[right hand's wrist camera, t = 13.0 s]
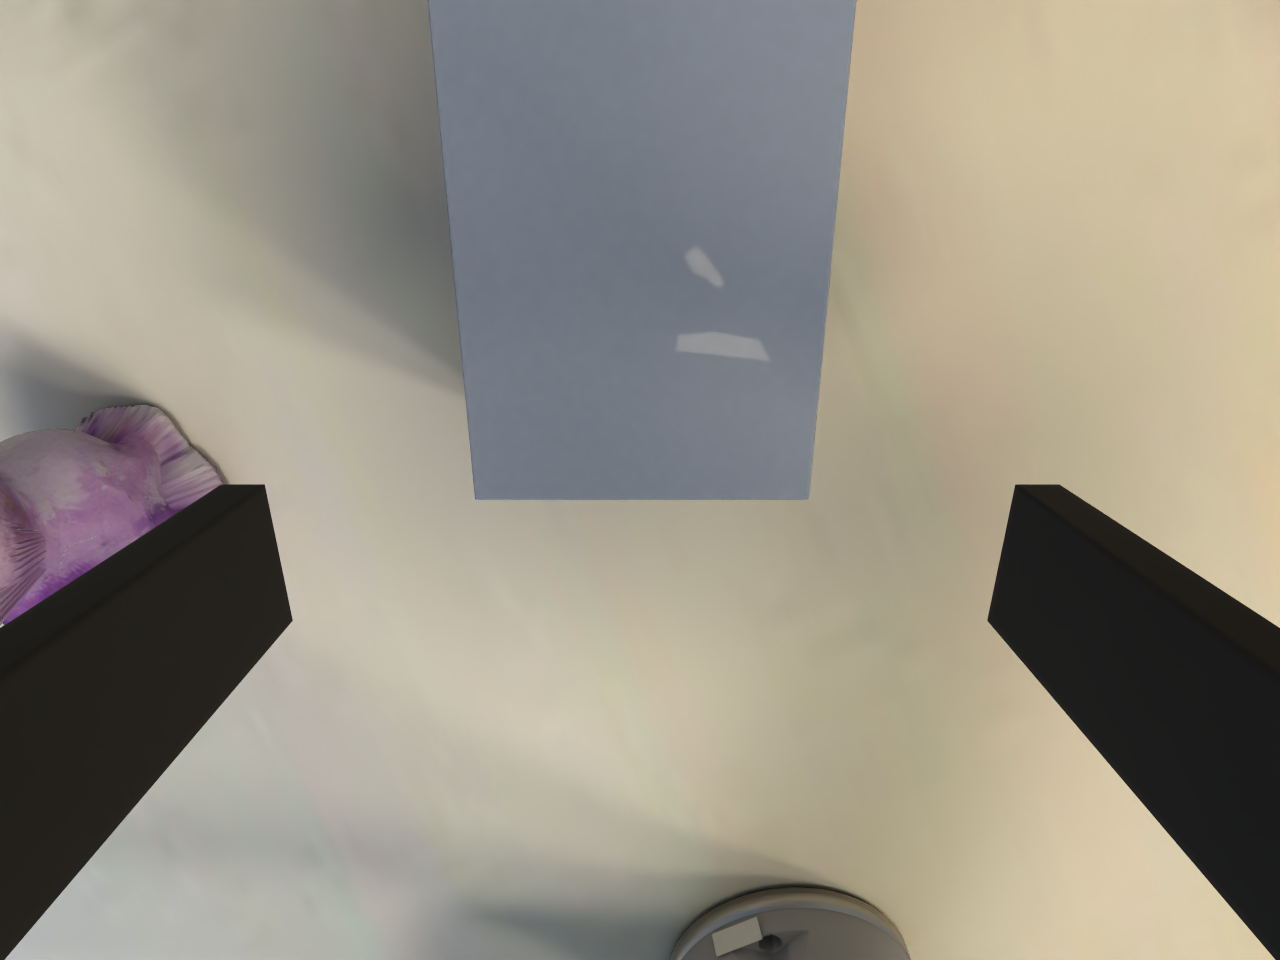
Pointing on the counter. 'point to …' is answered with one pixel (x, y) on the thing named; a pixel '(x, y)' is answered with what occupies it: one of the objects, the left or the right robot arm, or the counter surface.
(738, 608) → the counter surface
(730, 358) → the cabinet
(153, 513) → the figurine
